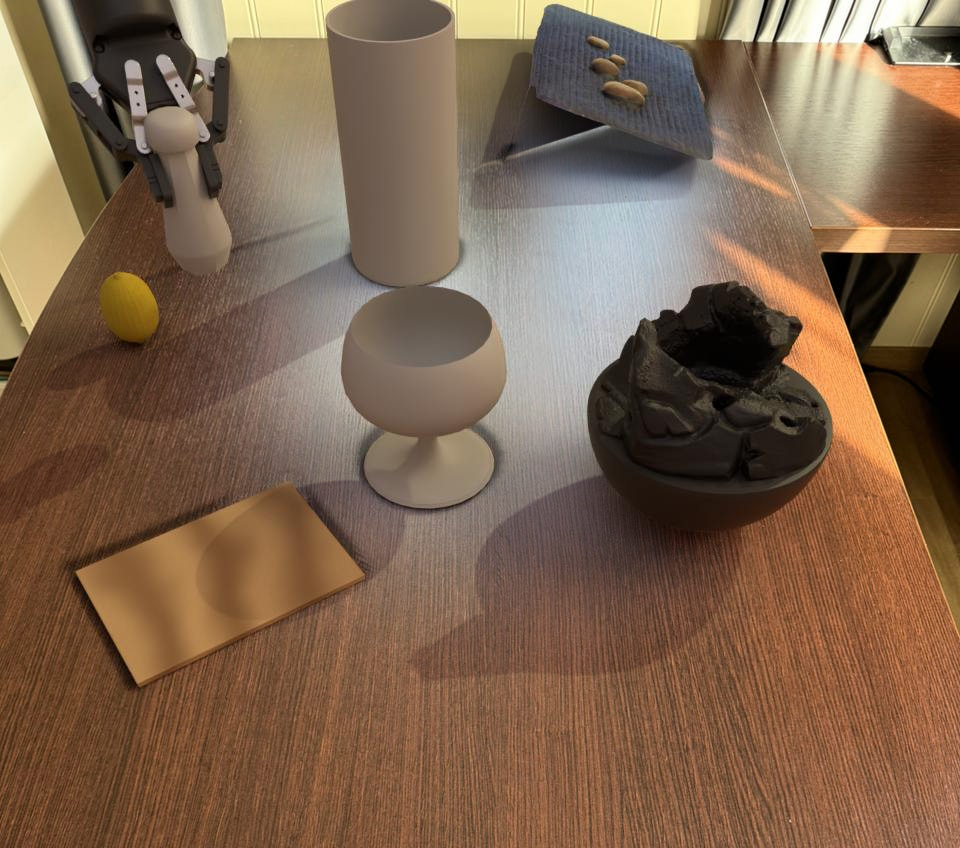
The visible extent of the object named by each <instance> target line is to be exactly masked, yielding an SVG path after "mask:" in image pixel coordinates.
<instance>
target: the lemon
mask: <svg viewBox="0 0 960 848" xmlns="http://www.w3.org/2000/svg"><path fill="white" fill-rule="evenodd" d="M98 296H99V300H98V301H99V307H100V311H101V315H102V318H103V320H104V322H105V324H106V326H107V327H108V328H109V330H110V331H111V332H112V333H113V334H114V336H116V337H118V338H120V339H121V340H123V341H126V342H131V343H137V344H143V343H144V341H145V340H147V339H149V338H150V337H151V336H153V334H155V332H156V330H157V327H158V325H159V320H160V319H159V317H160V316H159V307H158V303H157V301H156V298H155V296H154V294H153V293H152V290H151V289H150V287H149V286H148V284H147V283H146V282H145V281H144V280H143V279H142V278H140V276H137V275H135V274H132V273H129V272H121V271H115V272H114V273H113V274H111V275H110V276H108V277H107V278H106V279H105V280H104V281H103V283H102V284H101V286H100V290H99V295H98Z"/></svg>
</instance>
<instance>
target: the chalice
mask: <svg viewBox="0 0 960 848" xmlns="http://www.w3.org/2000/svg"><path fill="white" fill-rule="evenodd" d="M341 352H342V353H341V361H340V377H341V381H342V382H341V383H342V385H343V389H344V394H345V395H346V397H347V399H348V401H350V404H351V405H352V407H353V408H354V410H355V411H356V412H357V413H358V414H359V415H360V416H361V417H362V418H363V419H365V420H366V421H367V422H368V423H370V424H372V425H373V426H375V427H376V428H378V429H379V430H382V431H384V432H385V433H384V434H382V435H381V436H380V437H378V438H377V439H376V440H375V441H374V442H373V443H372V444H371V445H370V446H369V448H368V451H367V453H366V455H365V456H364V462H363V470H364V476H365V478H366V480H367V481H368V484H369V485H370V487H371V488H373V490H375V492H376V493H377V494H379V495H380V496H382V498H385V499H386V500H388V501H390V502H393V503H395V504H397V505H401V506H405V507H410V508H415V509H438V508H447V507H449V506H453V505H456V504H460V503H462V502H464V501H466V500H468V499H470V498H472V497H474V496H475V495H477V494H478V493H480V491H481V490H483V489H484V488H485V486H486V485H487V484H488V482H489V481H490V480H491V478H492V475H493V473H494V469H495V458H494V455H493V452H492V450H491V448H490V446H489V445H488V443H487V442H486V441H485V440H484V439H483V438H482V437H481V436H480V435H479V434H477V433H476V432H474V431H473V430H470V429H468V428H470V427H473V426H474V425H475V424H477V423H479V422H480V421H481V420H482V419H484V418H485V417H486V416H487V415H488V414H490V413H491V411H492V410H493V409H494V408H495V406H496V405H497V404H498V402H499V400H500V398H501V397H502V394H503V392H504V390H505V387H506V383H507V375H508V374H507V373H508V370H507V369H508V368H507V357H506V350H505V345H504V342H503V338H502V335H501V332H500V330H499V328H498V325H497V324H496V322H495V319H494V318H493V316H492V314H491V313H490V312H489V310H488V309H487V308H486V306H484V305H483V304H482V303H481V302H480V301H479V300H477V299H475V298H474V297H473V296H471V295H469V294H466V293H463V292H461V291H459V290H456V289H452V288H448V287H443V286H433V285H420V286H412V287H399V288H396V289H393V290H388V291H386V292H383V293H380V294H379V295H377V296H374V297H372V298H371V299H369V300H368V301H367V302H365V303H364V304H362V305H361V307H360V308H359V309H358V310H357V311H356V312H355V313H354V315H353V317H352V319H351V320H350V323H349V325H348V327H347V329H346V332H345V335H344V339H343V343H342V351H341Z"/></svg>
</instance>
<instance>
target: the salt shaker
mask: <svg viewBox="0 0 960 848" xmlns="http://www.w3.org/2000/svg"><path fill="white" fill-rule="evenodd" d="M144 130H145V136H146V139H147V143H148V144H149V146H150V147H151V148H152V150H153V151H156V153H157V155H158V158H159V161H160V163H161V166H162V169H163V172H164V174H165V177H166V180H167V183H168V186H169V188H170V191H171V194H172V197H173V207H171V208H166V209H165V208H164V206H163V203H162V202H161V206H162V215H163V226H164V235H165V237H164V238H165V246H166V248H167V251H168V253H169V254H170V255H171V257H173V259H174V261H175V262H176V263H177V264H178V265H179V267H180V268H181V269H182V270H183V271H186V272H187V273H190V274H191V275H194V276H196V277H197V276H205V275H210V274H211V275H212V274H217V273H218V272H219V271H220V270H221V269H223V267H225V266H226V265H227V264H228V263H229V257H230V253H231V250H232V245H233V237H232V233H231V229H230V227H229V225H228V222H227V220H226V217H225V215H224V213H223V210H222V208H221V206H220V204H219V201H218V198H213V199H210V196H209V192H208V189H207V185H206V181H205V178H204V174H203V170H202V166H201V162H200V158H199V156H198V153H197V151H196V149H195V145H196V144H197V143H198V142H199V138H200V136H199V130H198V125H197V122H196V119H195V117H194V115H193V114H191V113H190V112H189V111H187V110H186V109H184V108H181V107H162V108H157V109H155V110H153V111H151V112H150V113H149V114H148V115H147V116H146V118H145V119H144Z"/></svg>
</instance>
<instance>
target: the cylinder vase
mask: <svg viewBox="0 0 960 848" xmlns="http://www.w3.org/2000/svg"><path fill="white" fill-rule="evenodd" d="M324 21H325V31H326V39H327V40H326V41H327V48H328V49H327V50H328V57H329V66H330V74H331V75H330V76H331V84H332V91H333V100H334V109H335V118H336V126H337V134H338V144H339V153H340V162H341V170H342V179H343V187H344V196H345V204H346V213H347V214H346V215H347V222H348V230H349V238H350V239H349V241H350V247H351V256H352V262H353V264H354V266H355V268H356V270H357V271H358V272H359V273H360V274H361V275H362V276H363V277H366V278H367V279H368V280H370V281H372V282H375V283H377V284H381V285H384V286H387V287H388V286H389V287H396V288H397V287H399V288H405V287H412V286H425V285H427V284H431V283H435V282H436V281H439V280H441V279H443V278H444V277H446V276H447V275H449V274H450V273H451V272H452V271H453V270H454V268H455V267H456V266H457V264H458V261H459V260H460V259H459V258H460V215H459V214H460V213H459V212H460V211H459V210H460V209H459V160H458V159H459V158H458V157H459V155H458V152H459V151H458V107H457V106H458V105H457V103H458V102H457V99H458V97H457V55H456V54H457V48H456V47H457V46H456V45H457V44H456V41H457V40H456V14H455V12H454V11H453V9H452V8H451V7H450V6H448V5H447V4H445V3H443V2H441V1H438V0H348V1H344V2H342V3H340V4H338V5H336V6H334V7H333V8H331V9H330V10H329V11H328V12H327V13H326V16H325V18H324Z"/></svg>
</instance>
